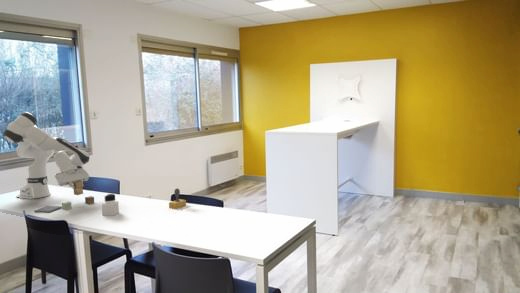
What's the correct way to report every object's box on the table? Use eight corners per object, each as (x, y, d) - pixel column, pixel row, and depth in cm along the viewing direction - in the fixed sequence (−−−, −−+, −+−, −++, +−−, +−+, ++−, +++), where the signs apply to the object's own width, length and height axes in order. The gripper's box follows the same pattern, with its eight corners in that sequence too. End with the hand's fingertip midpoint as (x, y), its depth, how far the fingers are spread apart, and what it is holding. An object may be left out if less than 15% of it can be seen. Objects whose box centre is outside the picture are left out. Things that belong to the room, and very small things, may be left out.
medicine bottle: (119, 212, 243) (117, 193, 242) (113, 215, 236) (112, 196, 235) (108, 212, 244) (106, 193, 242) (102, 215, 237) (100, 196, 235)
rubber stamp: (175, 209, 248) (174, 190, 246) (168, 208, 251) (167, 189, 249) (186, 205, 256) (185, 187, 255) (179, 204, 259) (178, 186, 258)
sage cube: (62, 208, 254) (61, 202, 254) (68, 207, 258) (67, 201, 257) (65, 209, 252) (65, 203, 252) (71, 208, 255) (71, 202, 255)
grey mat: (34, 212, 248) (34, 210, 247) (47, 207, 258) (47, 205, 258) (49, 212, 245) (49, 211, 245) (61, 207, 256) (61, 206, 256)
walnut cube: (85, 203, 267) (85, 197, 267) (90, 201, 271) (90, 196, 270) (88, 203, 265) (88, 198, 265) (94, 202, 268) (93, 196, 268)
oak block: (74, 194, 261) (73, 182, 260) (79, 193, 264) (78, 181, 263) (77, 195, 258) (76, 183, 257) (83, 193, 262) (82, 181, 261)
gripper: (55, 171, 254) (64, 187, 250) (84, 165, 271) (94, 181, 267) (52, 177, 257) (61, 193, 253) (81, 171, 274) (90, 187, 270)
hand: (78, 187), depth 260 cm, fingers closed on oak block, 4 cm apart
